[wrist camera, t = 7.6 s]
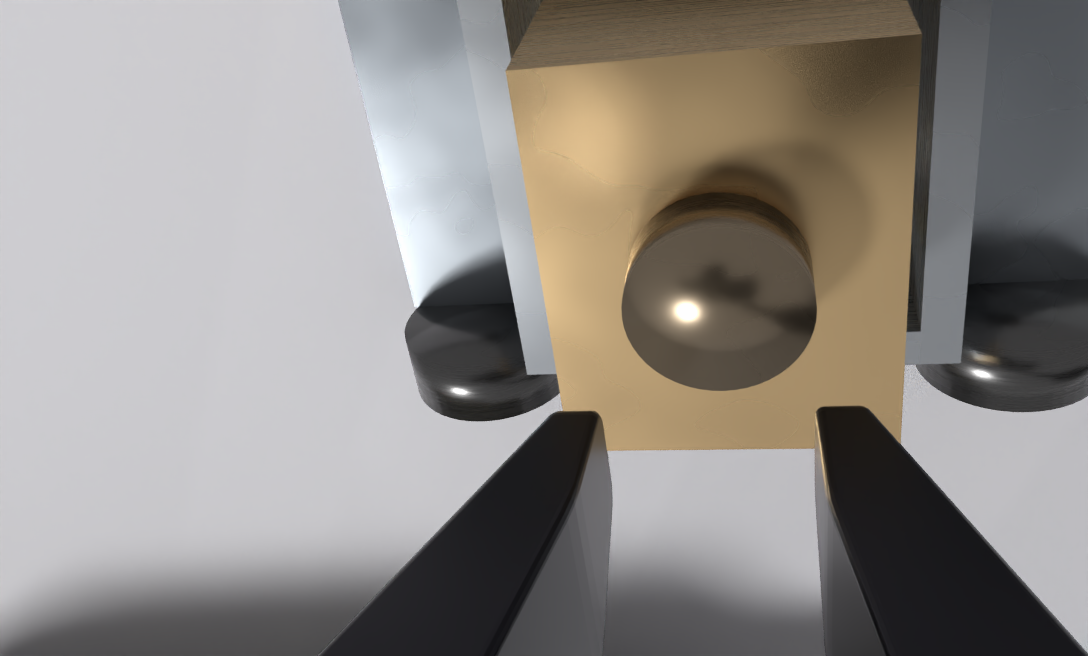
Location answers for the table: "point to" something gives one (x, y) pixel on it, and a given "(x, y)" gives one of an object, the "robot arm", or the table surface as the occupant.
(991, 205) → the chassis
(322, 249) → the table surface
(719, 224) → the wooden block with knob
